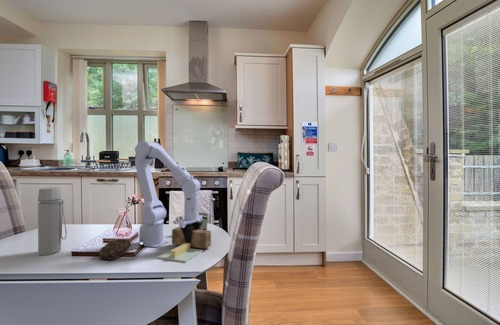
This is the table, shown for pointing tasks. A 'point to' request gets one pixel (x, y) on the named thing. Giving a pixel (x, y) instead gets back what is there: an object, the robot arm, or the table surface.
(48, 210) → the water bottle
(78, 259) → the table surface
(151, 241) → the robot arm
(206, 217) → the food container
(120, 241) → the dark brown rock
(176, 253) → the ridge stand
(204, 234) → the walnut bar
